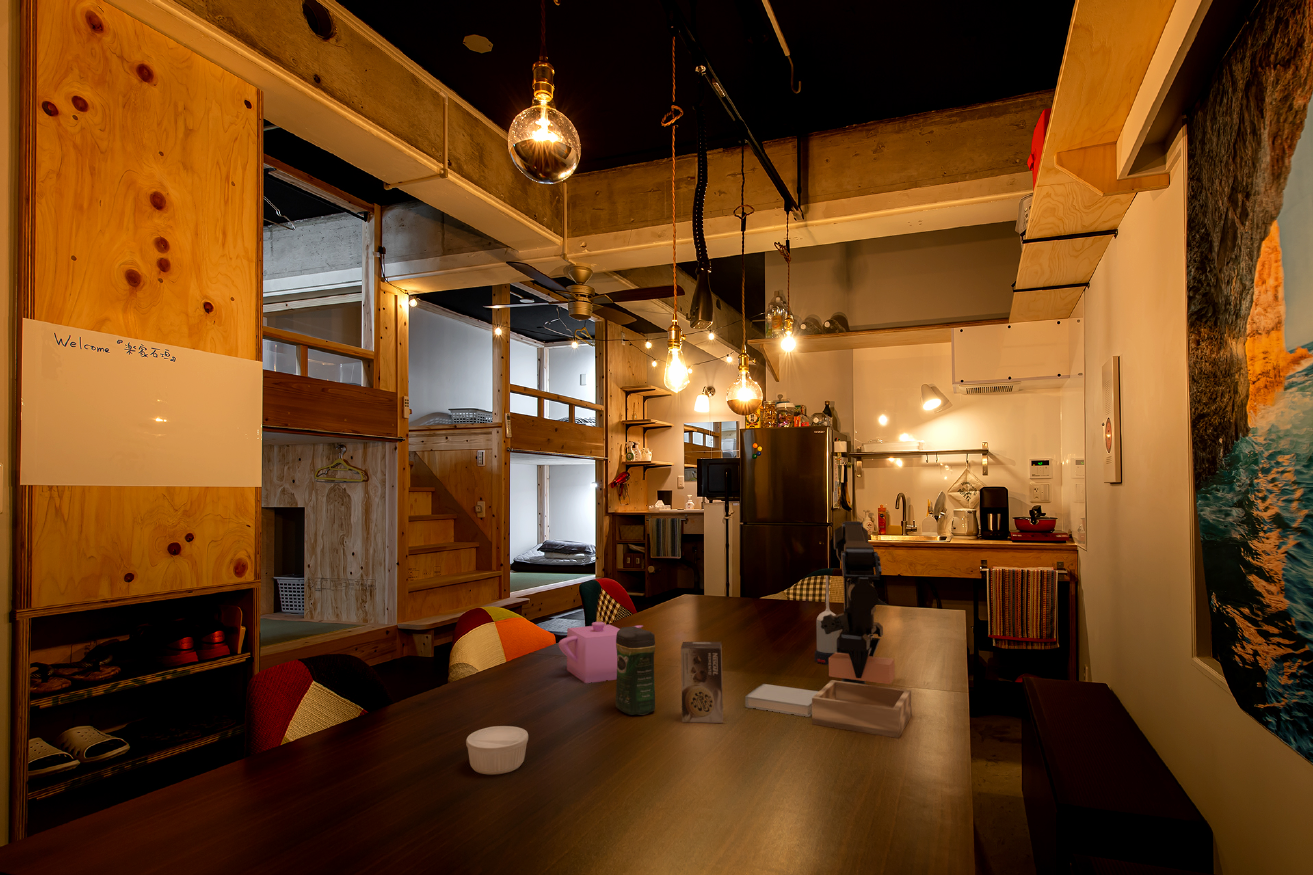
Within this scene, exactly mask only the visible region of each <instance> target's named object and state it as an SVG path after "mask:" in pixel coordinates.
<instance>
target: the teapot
mask: <svg viewBox="0 0 1313 875" xmlns="http://www.w3.org/2000/svg"><path fill="white" fill-rule="evenodd" d="M634 626H635V627H637V628H640V629H642V627H644V625H634ZM620 629H621V628H618V627H616V626H614V625H611V624H606V623H605V622H603V621H595V622H594V621H593V622H592V623H591V625H589V626H578V627H576V626H575V627H567V630H566V631H567V632H566V635H567V636H566V637H564V638H562V639H560V640H559V642H558V648H559V649H560V651H561V652H562V653H563V655H565V656H566V671H567V672H568V673H570V674H572V675H573V676H574V677H576V678H577V679H579V681H582V682H583V683H584V684H589V683H590V684H591V682H592V683H599V682H606V680H608V681H614V680H615V681H617V649H616V636H617V632H618V631H619V630H620Z"/></svg>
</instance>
